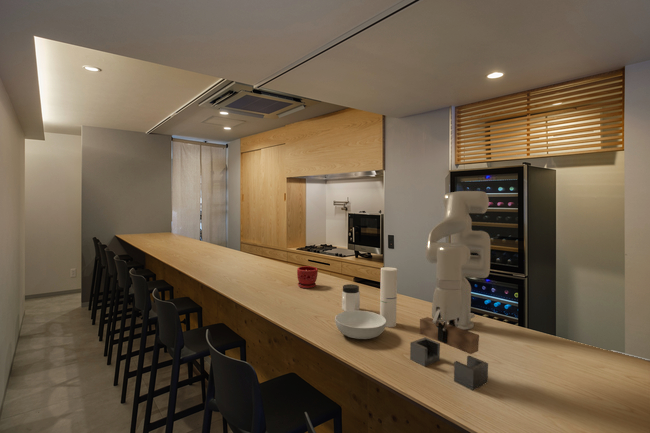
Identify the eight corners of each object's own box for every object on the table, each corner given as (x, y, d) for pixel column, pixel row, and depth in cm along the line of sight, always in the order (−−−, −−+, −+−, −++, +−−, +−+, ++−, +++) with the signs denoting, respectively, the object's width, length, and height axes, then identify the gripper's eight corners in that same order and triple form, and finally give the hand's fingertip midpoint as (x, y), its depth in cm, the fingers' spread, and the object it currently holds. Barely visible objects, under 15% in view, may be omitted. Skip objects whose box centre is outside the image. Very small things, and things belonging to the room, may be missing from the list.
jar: (339, 307, 173) (339, 284, 173) (353, 306, 176) (353, 283, 176) (347, 313, 165) (347, 289, 164) (362, 311, 168) (362, 287, 168)
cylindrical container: (396, 327, 147) (397, 270, 145) (379, 326, 148) (380, 270, 147) (396, 322, 154) (397, 267, 152) (380, 320, 155) (381, 266, 154)
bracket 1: (410, 359, 117) (410, 342, 117) (424, 353, 122) (425, 337, 122) (424, 366, 112) (425, 348, 112) (439, 360, 117) (439, 343, 117)
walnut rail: (419, 333, 116) (419, 319, 116) (427, 331, 118) (427, 317, 118) (470, 354, 100) (471, 337, 100) (478, 351, 103) (478, 334, 102)
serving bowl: (373, 350, 125) (373, 331, 124) (325, 337, 136) (325, 320, 135) (393, 332, 142) (393, 315, 142) (349, 322, 153) (349, 307, 153)
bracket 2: (487, 382, 103) (488, 363, 102) (472, 390, 98) (473, 370, 98) (468, 373, 108) (469, 355, 108) (453, 381, 103) (454, 362, 103)
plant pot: (294, 288, 210) (294, 269, 210) (299, 283, 223) (299, 265, 223) (315, 289, 208) (315, 270, 208) (319, 284, 221) (319, 266, 221)
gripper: (453, 279, 117) (452, 331, 117) (422, 285, 107) (420, 341, 108) (474, 283, 110) (472, 338, 111) (442, 290, 101) (440, 350, 101)
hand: (447, 339), depth 109 cm, fingers closed on walnut rail, 4 cm apart
